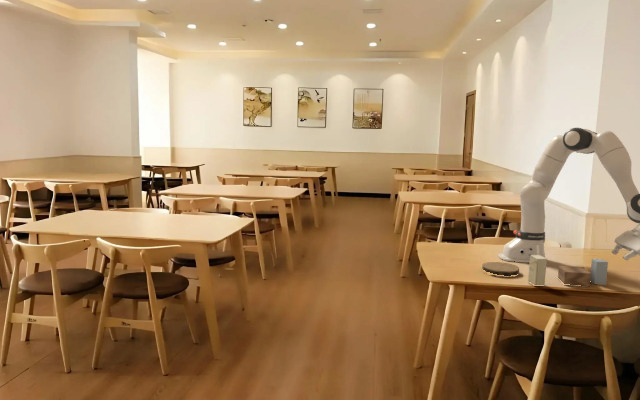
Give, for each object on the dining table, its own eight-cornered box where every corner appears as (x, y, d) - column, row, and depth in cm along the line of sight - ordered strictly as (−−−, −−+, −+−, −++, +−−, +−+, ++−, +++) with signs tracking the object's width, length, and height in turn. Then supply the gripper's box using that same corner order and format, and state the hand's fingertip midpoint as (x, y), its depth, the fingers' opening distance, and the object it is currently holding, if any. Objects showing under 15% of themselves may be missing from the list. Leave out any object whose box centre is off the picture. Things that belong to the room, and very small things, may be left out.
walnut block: (563, 285, 210) (564, 271, 209) (557, 279, 220) (558, 265, 219) (589, 287, 208) (591, 273, 207) (582, 280, 218) (583, 267, 217)
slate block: (594, 284, 211) (596, 261, 210) (590, 281, 215) (591, 258, 214) (605, 285, 211) (607, 261, 209) (600, 281, 215) (602, 259, 214)
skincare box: (527, 282, 213) (529, 254, 212) (537, 282, 214) (539, 254, 212) (535, 287, 207) (537, 258, 205) (545, 287, 207) (547, 258, 206)
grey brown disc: (516, 279, 218) (516, 273, 218) (478, 274, 226) (479, 268, 226) (521, 271, 232) (521, 264, 232) (485, 266, 240) (486, 260, 239)
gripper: (627, 223, 219) (601, 245, 221) (654, 233, 199) (626, 256, 201) (636, 234, 219) (611, 255, 221) (664, 244, 199) (636, 267, 201)
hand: (618, 256), depth 211 cm, fingers open, 8 cm apart
